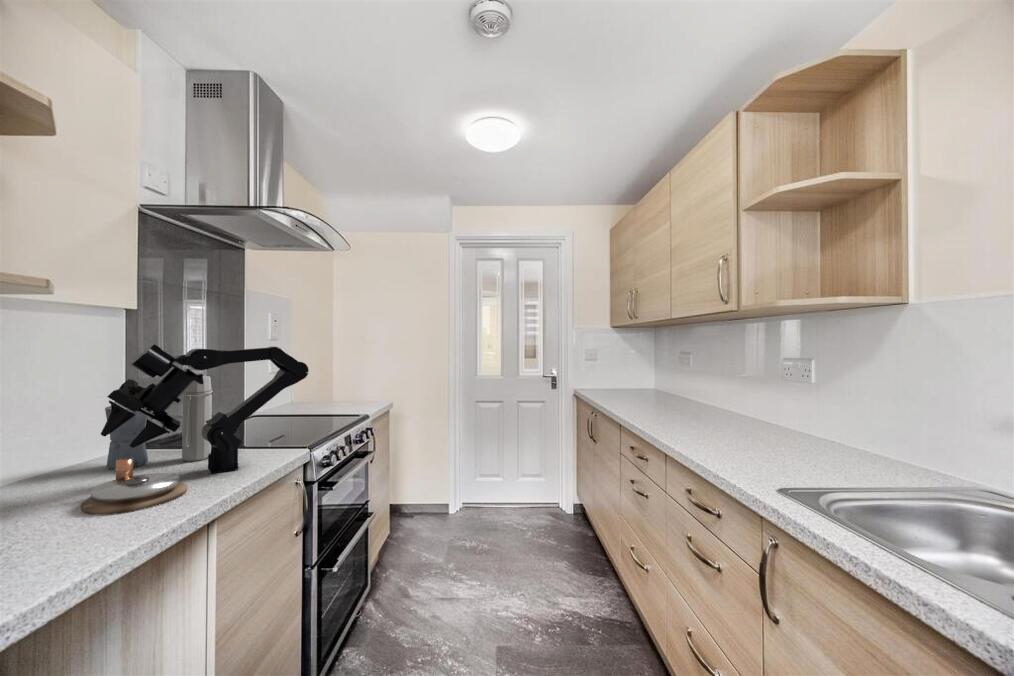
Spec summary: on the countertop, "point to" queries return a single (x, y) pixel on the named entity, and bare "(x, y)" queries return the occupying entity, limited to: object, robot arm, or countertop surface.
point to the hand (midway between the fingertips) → (117, 441)
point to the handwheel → (133, 484)
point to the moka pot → (127, 441)
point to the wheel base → (132, 502)
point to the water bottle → (196, 420)
